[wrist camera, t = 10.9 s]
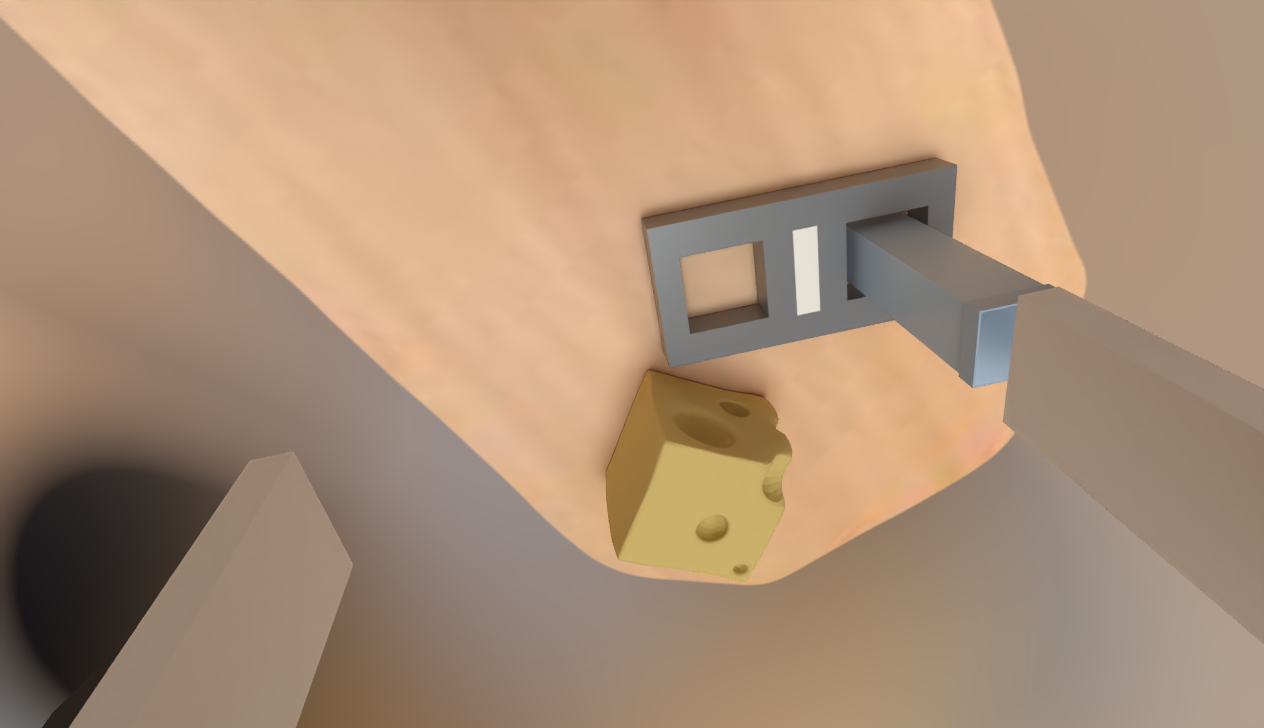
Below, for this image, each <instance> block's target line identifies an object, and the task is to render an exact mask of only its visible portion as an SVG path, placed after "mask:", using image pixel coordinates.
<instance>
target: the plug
mask: <svg viewBox="0 0 1264 728" xmlns="http://www.w3.org/2000/svg"><path fill="white" fill-rule="evenodd" d="M846 250H847V281H848V282H849V283H850V284H852V285H853V286H854V287H855V288H857V289H858V290H859V291H860V292H861V293H863V294H864V295H865V296H866V297H867V298H869V299H870V300H871V301H872V302H874V303H875V304H876V305H877V306H878V307H880V308H881V309H882V310H883V311H884V312H886V313H887V314H888V315H889V316H890V317H892V318H893V319H894V320H895V321H897V322H898V323H899V324H900V325H901V326H903V327H904V328H905V329H906V330H907V331H909V332H910V333H911V334H912V335H914V336H915V337H916V338H917V339H918V340H920V341H921V342H922V343H923V344H924V345H926V346H927V347H928V348H929V349H930V350H932V351H933V352H934V353H935V354H937V355H938V356H939V357H940V358H941V359H943V360H944V361H945V362H946V363H947V364H949V365H950V366H951V367H952V368H953V369H955V370H956V371H957V372H958V373H959V377H960V378H961V379H962V380H963V381H965V382H966V383H967V384H968V385H969V386H971V387H972V388H976V387H980V386H985V385H989V384H994V383H999V382H1003V381H1008V375H1009V366H1010V358H1011V350H1012V342H1013V334H1014V325H1015V317H1016V309H1017V301H1018V295H1023V294H1028V293H1032V292H1037V291H1042V290H1046V289H1051V288H1056V287H1054V286H1052V285H1050V284H1046V285H1043V284H1041V283H1039V282H1037V281H1035V280H1033V279H1031V278H1029V277H1027V276H1025V275H1023V274H1022V273H1020V272H1018V271H1016V270H1014V269H1012V268H1010V267H1008V266H1006V265H1004V264H1002V263H1000V262H998V261H996V260H994V259H992V258H990V257H988V256H986V255H984V254H982V253H980V252H978V251H976V250H974V249H972V248H971V247H969V246H967V245H965V244H963V243H961V242H959V241H957V240H955V239H953V238H951V237H949V236H947V235H945V234H943V233H941V232H939V231H937V230H935V229H933V228H931V227H929V226H927V225H925V224H923V223H922V222H920V221H918V220H916V219H914V218H912V217H910V216H908V215H906V214H904V213H902V212H896V213H891V214H886V215H882V216H877V217H872V218H867V219H862V220H858V221H853V222H848V223H846Z"/></svg>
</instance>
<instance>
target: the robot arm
mask: <svg viewBox="0 0 1264 728" xmlns="http://www.w3.org/2000/svg"><path fill="white" fill-rule="evenodd" d="M1003 422H1004V423H1005V424H1006V425H1007V426H1008V427H1010V428H1011V429H1012V430H1013V431H1014V432H1015V433H1017V434H1018V435H1019V436H1020V437H1021V438H1022V439H1024V440H1025V441H1026V442H1027V443H1028V444H1030V445H1031V446H1032V447H1033V448H1034V449H1036V450H1037V451H1038V452H1039V453H1040V454H1041V455H1042V456H1044V457H1045V458H1046V459H1047V460H1048V461H1049V462H1051V463H1052V464H1053V465H1054V466H1055V467H1057V468H1058V469H1059V470H1060V471H1061V472H1062V473H1064V474H1065V475H1066V476H1067V477H1068V478H1069V479H1071V480H1072V481H1073V482H1074V483H1075V484H1077V485H1078V486H1079V487H1080V488H1081V489H1083V490H1084V491H1085V492H1086V493H1087V494H1088V495H1089V496H1091V497H1092V498H1093V499H1094V500H1095V501H1096V502H1098V503H1099V504H1100V505H1101V506H1103V508H1105V509H1106V510H1107V511H1108V512H1109V513H1111V514H1112V515H1113V516H1114V517H1115V518H1116V519H1118V520H1119V521H1120V522H1121V523H1122V524H1124V525H1125V526H1126V527H1127V528H1128V529H1129V530H1130V531H1132V532H1133V533H1134V534H1135V535H1136V536H1138V537H1139V538H1140V539H1141V540H1142V541H1143V542H1145V543H1146V544H1147V545H1148V546H1149V547H1151V548H1152V549H1153V550H1154V551H1155V552H1156V553H1158V554H1159V555H1160V556H1161V557H1162V558H1163V559H1165V560H1166V561H1167V562H1168V563H1169V564H1170V565H1172V566H1173V567H1174V568H1175V569H1176V570H1177V571H1179V572H1180V573H1181V574H1182V575H1183V576H1184V577H1186V578H1187V579H1188V580H1189V581H1190V582H1192V583H1193V584H1194V585H1195V586H1196V587H1197V588H1199V589H1200V590H1201V591H1202V592H1203V593H1205V594H1206V595H1207V596H1208V597H1209V598H1210V599H1212V600H1213V601H1214V602H1215V603H1216V604H1217V605H1219V606H1220V607H1221V608H1222V609H1223V610H1224V611H1226V612H1227V613H1228V614H1229V615H1230V616H1231V617H1233V618H1234V619H1235V620H1236V621H1237V622H1238V623H1240V624H1241V625H1242V626H1243V627H1244V628H1246V629H1247V630H1248V631H1249V632H1250V633H1251V634H1253V635H1254V636H1255V637H1256V638H1257V639H1258V640H1260V641H1261V642H1262V643H1263V644H1264V389H1263V388H1261V387H1259V386H1257V385H1255V384H1253V383H1251V382H1249V381H1247V380H1245V379H1243V378H1241V377H1239V376H1237V375H1235V374H1233V373H1231V372H1229V371H1227V370H1225V369H1223V368H1221V367H1219V366H1217V365H1215V364H1213V363H1211V362H1209V361H1207V360H1205V359H1203V358H1201V357H1199V356H1197V355H1195V354H1193V353H1191V352H1189V351H1187V350H1184V349H1183V348H1181V347H1179V346H1177V345H1175V344H1173V343H1171V342H1169V341H1167V340H1165V339H1163V338H1161V337H1158V336H1157V335H1154V334H1153V333H1151V332H1149V331H1147V330H1145V329H1143V328H1141V327H1139V326H1137V325H1135V324H1133V323H1131V322H1129V321H1127V320H1125V319H1123V318H1121V317H1119V316H1117V315H1115V314H1113V313H1111V312H1109V311H1107V310H1105V309H1103V308H1101V307H1099V306H1097V305H1095V304H1092V303H1090V302H1089V301H1087V300H1085V299H1083V298H1081V297H1079V296H1077V295H1075V294H1073V293H1071V292H1068V291H1066V290H1064V289H1062V288H1060V287H1056V288H1051V289H1046V290H1042V291H1037V292H1032V293H1028V294H1023V295H1018V301H1017V309H1016V317H1015V325H1014V334H1013V342H1012V350H1011V358H1010V366H1009V375H1008V383H1007V391H1006V399H1005V407H1004V416H1003ZM352 567H353V564H352V562H351V560H350V558H349V556H348V554H347V552H346V550H345V548H344V547H343V545H342V543H341V541H340V539H339V537H338V535H337V533H336V531H335V530H334V528H333V526H332V524H331V522H330V520H329V518H328V516H327V514H326V512H325V510H324V509H323V507H322V505H321V503H320V501H319V499H318V497H317V495H316V493H315V491H314V489H313V488H312V486H311V484H310V482H309V480H308V478H307V476H306V474H305V472H304V470H303V468H302V466H301V465H300V463H299V461H298V459H297V457H296V455H295V453H294V451H292V452H288V453H283V454H279V455H274V456H269V457H264V458H260V459H255V460H250V461H249V463H248V464H247V465H246V467H245V468H244V470H243V471H242V473H241V474H240V476H239V477H238V479H237V480H236V482H235V483H234V485H233V486H232V488H231V489H230V491H229V492H228V494H227V495H226V497H225V498H224V499H223V501H222V502H221V504H220V506H219V507H218V508H217V510H216V511H215V513H214V514H213V516H212V517H211V519H210V520H209V522H208V523H207V525H206V526H205V527H204V529H203V530H202V532H201V534H200V535H199V536H198V538H197V539H196V541H195V542H194V544H193V545H192V547H191V548H190V550H189V551H188V553H187V554H186V556H185V557H184V558H183V560H182V561H181V563H180V565H179V566H178V567H177V569H176V570H175V572H174V573H173V575H172V576H171V578H170V579H169V581H168V582H167V584H166V585H165V587H164V588H163V590H162V591H161V593H160V594H159V595H158V597H157V598H156V600H155V601H154V603H153V604H152V606H151V607H150V609H149V610H148V612H147V613H146V615H145V616H144V618H143V619H142V620H141V622H140V624H139V625H138V626H137V628H136V629H135V631H134V632H133V634H132V635H131V637H130V638H129V640H128V641H127V643H126V644H125V646H124V647H123V649H122V650H121V652H120V653H119V655H118V656H117V657H116V659H115V660H114V662H113V663H112V665H111V666H110V668H109V669H108V670H104V671H100V672H95V673H94V674H93V675H92V676H91V677H89V678H88V679H87V680H86V681H85V682H84V683H83V684H82V685H81V686H80V687H79V688H78V689H77V690H76V691H75V692H74V693H73V694H72V695H71V696H70V697H69V698H68V699H66V701H64V702H63V703H62V704H61V705H60V706H59V707H58V708H57V709H56V710H55V711H54V712H53V713H52V714H51V716H50V718H49V719H48V720H47V722H46V723H45V724H44V726H43V727H42V728H296V725H297V723H298V720H299V717H300V714H301V711H302V708H303V705H304V703H305V700H306V697H307V694H308V691H309V688H310V686H311V683H312V680H313V677H314V674H315V671H316V668H317V666H318V663H319V660H320V657H321V654H322V652H323V649H324V646H325V643H326V640H327V637H328V634H329V631H330V629H331V626H332V623H333V620H334V618H335V615H336V612H337V609H338V606H339V603H340V601H341V597H342V595H343V592H344V589H345V586H346V584H347V581H348V578H349V575H350V572H351V569H352Z"/></svg>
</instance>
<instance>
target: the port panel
mask: <svg viewBox="0 0 1264 728" xmlns="http://www.w3.org/2000/svg"><path fill="white" fill-rule="evenodd" d="M956 175H957V165H956V164H953V163H950V162H946V161H943V160H940V159H937V158H933V159H929V160H924V161H919V162H914V163H909V164H904V165H900V166H895V167H890V168H885V169H880V170H875V171H871V172H866V173H861V174H856V175H851V176H846V177H842V178H837V179H832V180H827V181H822V182H817V183H813V184H808V185H803V186H798V187H793V188H788V189H784V190H779V191H774V192H769V193H764V194H759V195H755V196H750V197H745V198H740V199H735V200H730V201H726V202H721V203H716V204H711V205H706V206H701V207H697V208H692V209H687V210H682V211H677V212H672V213H668V214H663V215H658V216H653V217H648V218H643V219H641V221H642V226H643V232H644V238H645V244H646V250H647V256H648V262H649V268H650V274H651V280H652V286H653V292H654V298H655V303H656V309H657V315H658V321H659V327H660V333H661V339H662V345H663V351H664V354H665V357H666V360H667V362H668V365H669V368H673V367H678V366H682V365H687V364H692V363H696V362H701V361H706V360H711V359H715V358H720V357H725V356H729V355H734V354H739V353H743V352H748V351H753V350H757V349H762V348H767V347H771V346H776V345H781V344H785V343H790V342H795V341H799V340H804V339H809V338H813V337H818V336H823V335H827V334H832V333H837V332H841V331H846V330H851V329H855V328H860V327H865V326H870V325H874V324H879V323H884V322H888V321H893V320H894V319H893V318H892V317H890V316H889V315H888V314H887V313H886V312H884V311H883V310H882V309H881V308H880V307H878V306H877V305H876V304H875V303H874V302H872V301H871V300H870V299H869V298H867V297H866V296H865V295H864V294H863V293H861V292H860V291H859V290H858V289H857V288H855V287H854V286H853V285H852V284H849V285H847V250H846V223H848V222H853V221H858V220H862V219H867V218H872V217H877V216H882V215H886V214H891V213H896V212H901V211H906V210H909V216H910V217H912V218H914V219H916V220H918V221H920V222H922V223H923V224H925V225H927V226H929V227H931V228H933V229H935V230H937V231H939V232H941V233H943V234H945V235H947V236H949V237H951V238H952V235H953V220H954V205H955V190H956ZM752 242H753V250H754V262H755V273H756V285H757V296H758V304H755V305H750V306H745V307H740V308H736V309H731V310H726V311H721V312H717V313H712V314H707V315H703V316H698V317H693V318H688V316H687V309H686V302H685V295H684V288H683V281H682V274H681V267H680V260H679V258H681V257H685V256H690V255H695V254H700V253H705V252H709V251H714V250H719V249H724V248H728V247H733V246H738V245H743V244H748V243H752Z"/></svg>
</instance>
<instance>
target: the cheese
mask: <svg viewBox="0 0 1264 728" xmlns="http://www.w3.org/2000/svg"><path fill="white" fill-rule="evenodd" d="M777 423H778V416H777V413H776V411H775V409H774V407H773V406H772V405H771V404H770V403H769V402H768V401H767V400H766V399H764V398H763V397H760V396H756V395H752V394H745V393H738V392H732V391H728V390H723V389H719V388H715V387H712V386H708V385H703V384H700V383H696V382H692V381H688V380H684V379H681V378H677V377H673V376H670V375H666V374H663V373H659V372H655V371H651V370H649V371H647V372H646V374H645V377H644V379H643V381H642V384H641V386H640V388H639V391H638V393H637V395H636V398H635V400H634V402H633V405H632V407H631V410H630V412H629V415H628V417H627V420H626V422H625V425H624V428H623V430H622V433H621V436H620V438H619V441H618V444H617V447H616V449H615V452H614V454H613V457H612V459H611V462H610V464H609V466H608V469H607V471H606V501H607V510H608V518H609V525H610V532H611V538H612V542H613V546H614V549H615V552H616V555H617V558H618V560H621V561H626V562H630V563H635V564H641V565H647V566H655V567H664V568H672V569H679V570H686V571H693V572H699V573H704V574H710V575H715V576H720V577H724V578H728V579H733V580H737V581H742V582H746V581H747V580H748V578H749V576H750V574H751V573H752V571H753V569H754V568H755V566H756V564H757V562H758V560H759V559H760V557H761V555H762V554H763V552H764V550H765V548H766V546H767V544H768V542H769V540H770V538H771V536H772V534H773V532H774V530H775V529H776V527H777V525H778V523H779V521H780V519H781V517H782V515H783V512H784V508H785V503H784V497H783V493H782V477H783V474H784V471H785V469H786V467H787V466H788V464H789V462H790V461H791V457H792V448H791V445H790V443H789V441H788V439H787V437H786V436H785V434H783V433H781V432H780V431H778V430H777V429H775V428H776V426H777Z"/></svg>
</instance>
